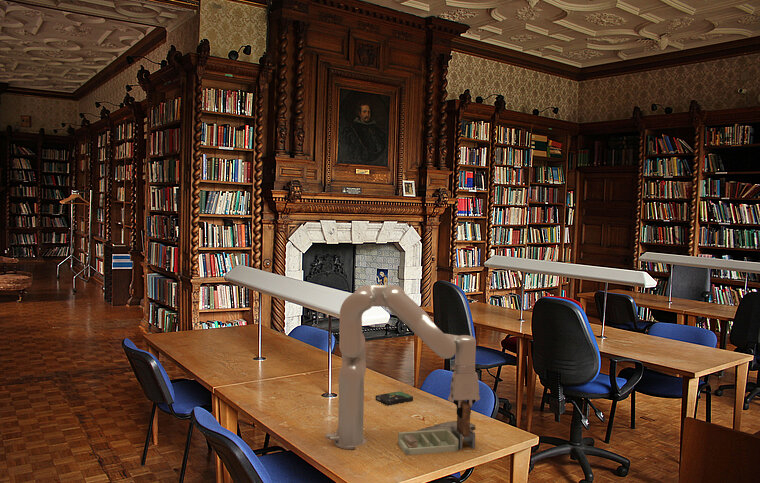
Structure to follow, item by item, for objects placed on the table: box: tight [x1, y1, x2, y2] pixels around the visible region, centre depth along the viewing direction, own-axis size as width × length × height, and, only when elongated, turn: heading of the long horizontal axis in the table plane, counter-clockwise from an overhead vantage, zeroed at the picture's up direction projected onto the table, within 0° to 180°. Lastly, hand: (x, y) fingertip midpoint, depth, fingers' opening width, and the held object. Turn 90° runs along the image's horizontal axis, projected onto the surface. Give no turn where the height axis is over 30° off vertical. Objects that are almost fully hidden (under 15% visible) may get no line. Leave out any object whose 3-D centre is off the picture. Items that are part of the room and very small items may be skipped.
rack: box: [397, 429, 459, 456], centre depth 224 cm, size 20×11×5 cm, turn 104°
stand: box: [451, 426, 476, 451], centre depth 227 cm, size 6×9×7 cm, turn 14°
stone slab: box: [416, 420, 476, 432], centre depth 243 cm, size 10×3×30 cm
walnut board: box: [456, 400, 471, 437], centre depth 227 cm, size 2×7×12 cm, turn 14°
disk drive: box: [375, 390, 414, 407], centre depth 282 cm, size 10×3×15 cm
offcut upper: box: [404, 435, 418, 446], centre depth 222 cm, size 3×6×2 cm, turn 19°
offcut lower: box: [404, 440, 418, 448], centre depth 222 cm, size 3×7×2 cm, turn 14°
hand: (463, 416), depth 226 cm, fingers closed on walnut board, 2 cm apart
